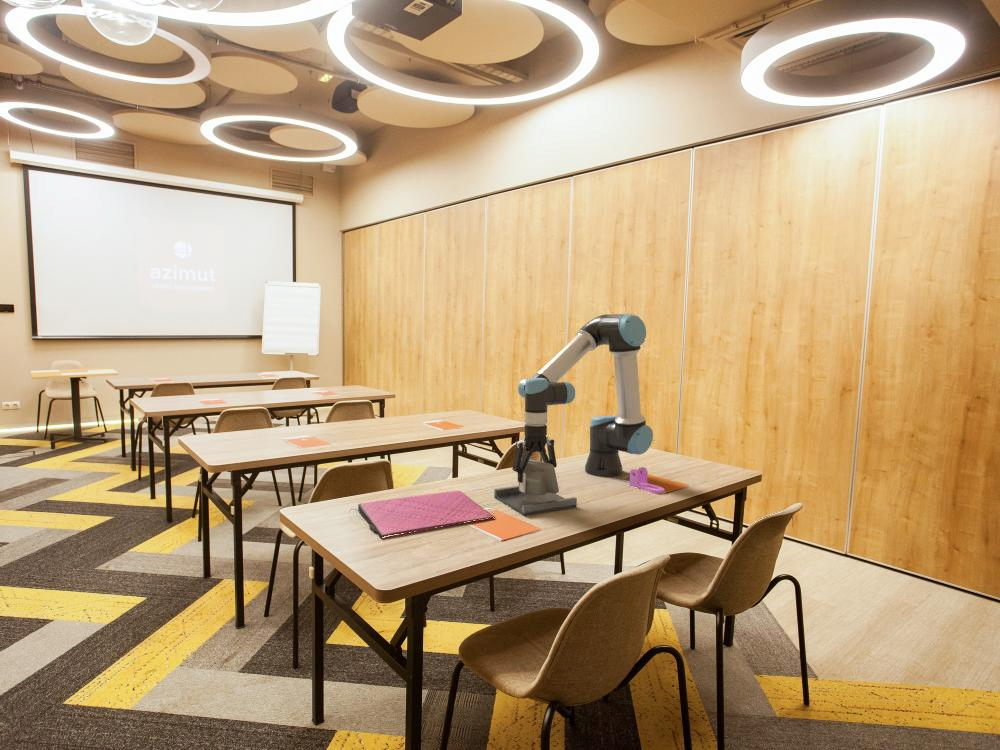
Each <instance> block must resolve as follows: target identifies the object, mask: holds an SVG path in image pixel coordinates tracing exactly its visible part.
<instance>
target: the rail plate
mask: <svg viewBox="0 0 1000 750" xmlns="http://www.w3.org/2000/svg"><path fill="white" fill-rule="evenodd" d="M493 493H494V494H493V496H494V497H493V498H495V499H496V500H498V501H499V502H501V503H502V502H503V503H502V504H504V505H506V506H507V505H508V506H507V507H509V508H510V507H511V508H510V509H512V510H513V511H515V512H517V513H518V512H519V514H520V515H522V516H524V517H528V516H532V515H533V514H534V515H538V514H539V513H540V514H545V513H544V512H546V513H550V512H557V511H563V510H567V509H574V508H577V506H578V505H577V504H578V503H577V502H578V499H577V497H576V496H573V497H567V498H565V497H563V496H561V495H560V494H558V493H546V494H543V495H540V496H539V495H535V494H531V493H528V492H525V493H523V492H521V491H519V485H514V486H506V487H499V488H494V491H493ZM527 515H528V516H527Z"/></svg>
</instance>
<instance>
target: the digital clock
mask: <svg viewBox="0 0 1000 750" xmlns="http://www.w3.org/2000/svg"><path fill="white" fill-rule="evenodd" d="M521 459H522V458H521ZM524 473H526V483H525V492H528V493H531V494H535V495H539V496H540V495H543V494H546V493H555V494H558V493H559V492H560V490H559V489H560V488H559V484H558V480H557V479H558V478H557V475H556V469H555V467H554V465H553V464H549V463H545V462H543V461H539V460H535V459H530V458H529V461H528V463H527V465H526V468H525V470H524ZM519 485H520V482H518V486H519Z"/></svg>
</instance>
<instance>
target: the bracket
mask: <svg viewBox="0 0 1000 750" xmlns="http://www.w3.org/2000/svg"><path fill="white" fill-rule="evenodd" d="M648 477H649V476H648V469H647V468H646V467H644V466H641V467H639V468H632V469H631V470H630V472H629V487H631V486H634V487H637V488H640V489H639V490H641V489H643V490H642V491H644V490H646V491H645V492H647V491H649V492H648V493H650V492H652V493H651V494H654V493H662V494H664V493H665V488H664V487H662V486H660V485H656V484H653V483H649V481H648ZM634 487H633V488H634ZM637 488H636V489H637ZM663 492H664V493H663Z"/></svg>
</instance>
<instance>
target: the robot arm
mask: <svg viewBox="0 0 1000 750" xmlns="http://www.w3.org/2000/svg"><path fill="white" fill-rule="evenodd" d="M646 338H647V328H646V324H645V322H644V320H643V319H641V318H640V316H638V315H635V314H628V313H621V314H620V313H619V314H617V313H616V314H602V315H598V316H596V317H595V318H593V319H591V320H590V321H588V322H586V323H585V324H584V325H582V327H581V328H579V329H578V330H577V331H576V332H575V337H574V338H572V339H571V341H569V342H568V343H567V344H566V345H565V346H564V347H563V348H562V349H561V350H560V351H559V352H557V354H555V356H553V357H552V358H551V359H550V360H549V361H548V362H547V363H546V364H544V366H543V367H541V368H540V370H539V371H537V373H535V374H534V375H533V376H532V377H530V378H529V377H528V378H523V379H522V380H520V382H519V383H518V387H517V391H518V394H519V396H520V397H521V398H522V399H524V430H523V431H524V438H523V441H516V442H515V446H516V447H515V448H516V449H515V455H514V459H513V462H512V463H513V465H512V469H511V470H512V471H513V472H516V473H517V482H518V483H519V482H520V485H519V484H518V486H519V491H521V492H523V493H525V483H526V473H524V470H525V468H526V465H527V463H528V461H529V459H530V458H531V456H533V453H536V452H538V453H539V454H540V457H541V459H542V460H541V461H542V462H545V463H549V464H553V465H554V469H555V468H557V465H558V464H557V460H556V459H557V458H556V453H555V447H554V446H555V440H554V439H552V438H547V434H548V431H547V430H548V425H547V424H548V407H549V406H556V405H567V404H570V403H572V402H573V401H574V399H575V398H576V388H575V386H574V385H573V384H572V383H571V382H568V381H567V382H565V381H561V382H559V380H561V379H562V378H563V376H564V375H566V374H567V373H568V372H569V371H570V370H571V369H572V368H573V367H574V366H575V365H576V364H577V363H578V362H579V361H581V359H582V358H583V357H584V356H585V355H586V354H588V353H589V352H592V351H594V350H596V348H598V347H600V346H604V345H605V346H607V345H608V350H609V353H610V354H612V355H613V360H614V361H613V364H614V374H615V375H614V377H615V388H616V389H615V390H616V401H617V414H618V415H602V416H601V415H598V416H594V417H592V418H591V420H590V426H589V453H588V456H587V459H586V462H585V464H584V471H585V473H587V474H590V475H593V476H599V477H614V476H615V477H617V476H620V475H622V474H623V466H622V462H621V458H620V454H619V452H623V453H627V454H630V455H637V456H638V455H642V454H645V453H646V452H647V451H648V450H649V449H650V447H651V445H652V443H653V440H654V432H653V428H651V427H650V426H648V425H647V423H646V417H645V416H643V414H642V410H641V394H640V381H639V369H638V368H639V367H638V364H639V363H638V353H639V351H641V346H642V345H643V344H644V343H645V341H646ZM545 446H546V447H547V448H546V447H545ZM546 449H547V450H546ZM521 458H522V459H521Z"/></svg>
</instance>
